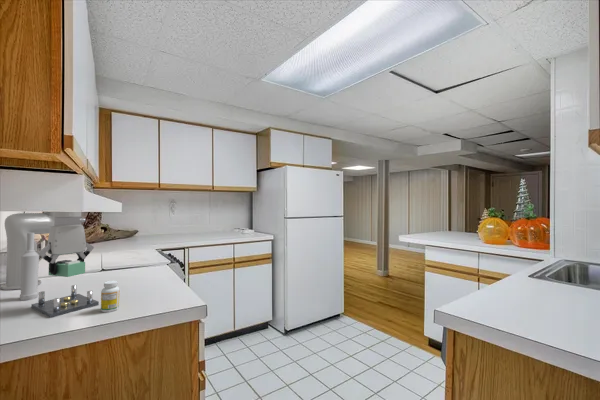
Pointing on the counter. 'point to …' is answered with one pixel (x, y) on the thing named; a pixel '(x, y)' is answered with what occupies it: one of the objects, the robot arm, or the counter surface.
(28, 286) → the bottle
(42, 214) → the robot arm
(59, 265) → the green rectangular module
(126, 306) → the counter surface
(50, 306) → the chassis
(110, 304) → the supplement bottle
